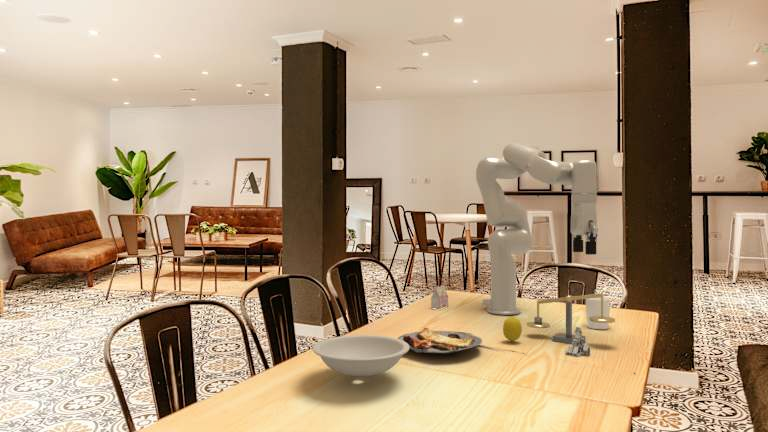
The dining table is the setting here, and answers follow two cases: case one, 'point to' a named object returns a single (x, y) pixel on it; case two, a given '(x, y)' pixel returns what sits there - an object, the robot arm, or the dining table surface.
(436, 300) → the tea bag
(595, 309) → the white cup
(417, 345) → the food plate
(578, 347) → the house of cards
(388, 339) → the soup bowl
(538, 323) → the balance
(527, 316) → the dining table surface
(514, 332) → the lemon
